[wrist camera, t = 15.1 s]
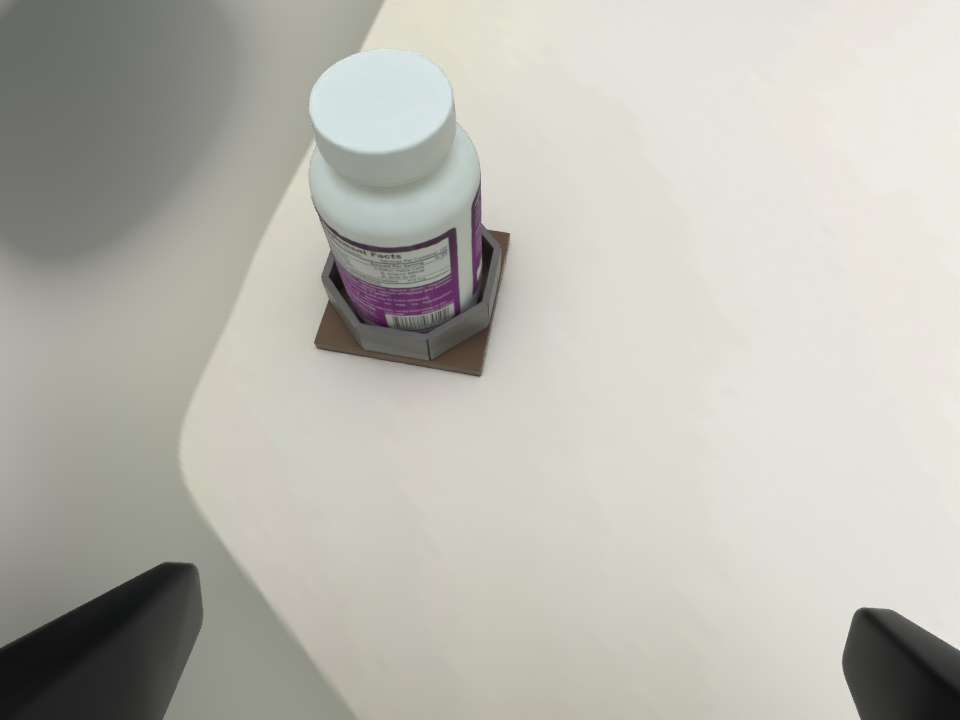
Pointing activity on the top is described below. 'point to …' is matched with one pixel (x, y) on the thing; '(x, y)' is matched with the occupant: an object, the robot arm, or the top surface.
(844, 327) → the top surface
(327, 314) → the octagonal bottle holder
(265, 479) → the top surface
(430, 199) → the pill bottle
